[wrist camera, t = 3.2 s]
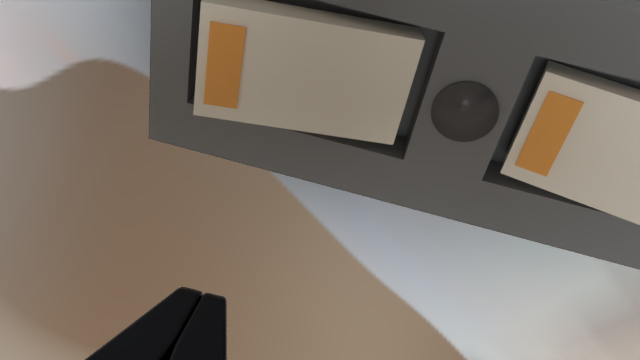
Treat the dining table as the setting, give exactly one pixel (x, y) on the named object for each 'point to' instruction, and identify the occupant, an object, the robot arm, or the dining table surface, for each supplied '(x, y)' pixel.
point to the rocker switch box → (431, 112)
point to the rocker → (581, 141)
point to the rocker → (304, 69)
